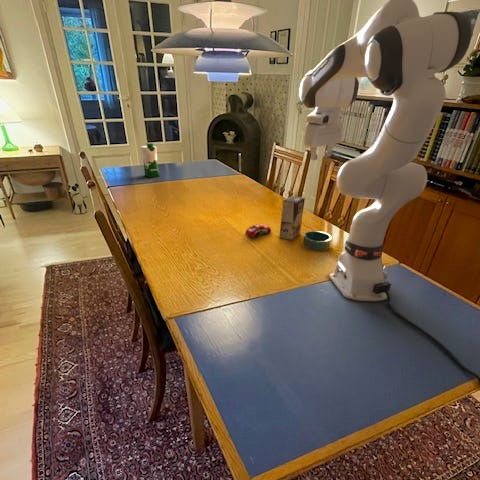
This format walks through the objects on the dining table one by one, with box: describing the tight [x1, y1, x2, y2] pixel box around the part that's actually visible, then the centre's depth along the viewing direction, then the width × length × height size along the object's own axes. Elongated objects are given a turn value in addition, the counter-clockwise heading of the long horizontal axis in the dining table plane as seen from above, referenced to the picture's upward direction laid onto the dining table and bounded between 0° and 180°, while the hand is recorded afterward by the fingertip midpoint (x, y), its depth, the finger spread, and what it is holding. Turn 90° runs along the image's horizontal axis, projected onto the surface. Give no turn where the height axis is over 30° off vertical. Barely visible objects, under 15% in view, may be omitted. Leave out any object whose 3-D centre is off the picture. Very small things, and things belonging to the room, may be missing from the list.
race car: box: [245, 223, 272, 238], centre depth 153 cm, size 13×5×4 cm, turn 130°
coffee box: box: [279, 195, 306, 241], centre depth 148 cm, size 9×6×16 cm
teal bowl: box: [302, 230, 332, 252], centre depth 143 cm, size 11×11×4 cm
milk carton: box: [140, 142, 160, 178], centre depth 227 cm, size 9×9×20 cm
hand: (320, 158), depth 131 cm, fingers open, 8 cm apart
